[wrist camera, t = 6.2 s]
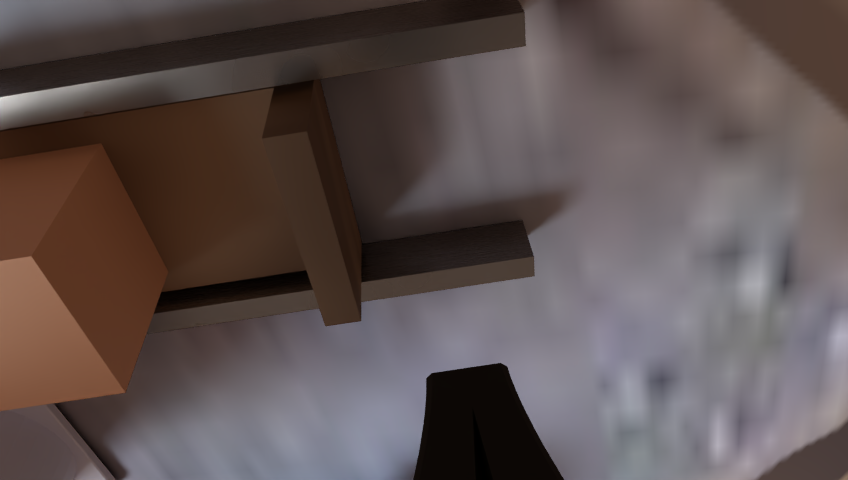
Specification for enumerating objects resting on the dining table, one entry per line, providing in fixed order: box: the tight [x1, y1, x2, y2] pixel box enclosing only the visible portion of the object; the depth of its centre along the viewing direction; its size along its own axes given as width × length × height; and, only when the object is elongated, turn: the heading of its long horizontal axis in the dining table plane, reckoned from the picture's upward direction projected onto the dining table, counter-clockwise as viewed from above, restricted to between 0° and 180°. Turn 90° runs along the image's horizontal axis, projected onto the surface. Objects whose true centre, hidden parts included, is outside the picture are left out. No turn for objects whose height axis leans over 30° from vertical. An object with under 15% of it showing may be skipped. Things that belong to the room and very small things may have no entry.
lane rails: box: [0, 0, 535, 334], centre depth 18 cm, size 14×8×2 cm, turn 98°
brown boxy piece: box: [0, 79, 362, 326], centre depth 18 cm, size 16×6×4 cm, turn 98°
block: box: [0, 143, 168, 411], centre depth 16 cm, size 4×4×4 cm
